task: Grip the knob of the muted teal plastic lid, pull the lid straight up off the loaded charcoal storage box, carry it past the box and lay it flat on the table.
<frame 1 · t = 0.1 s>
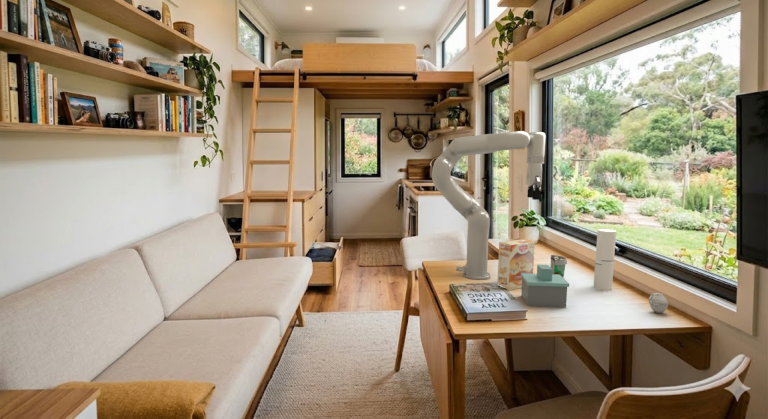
hand: (533, 198, 208), 37 cm above the table, tool pointing down, fingers open, 9 cm apart
grey rock: (657, 312, 168), on the table
lid: (543, 283, 178), point 7 cm above the table, touching storage box
storage box: (542, 301, 179), on the table
food container: (558, 279, 211), on the table
coffeecake box: (514, 286, 199), on the table
cylindrical container: (602, 288, 198), on the table
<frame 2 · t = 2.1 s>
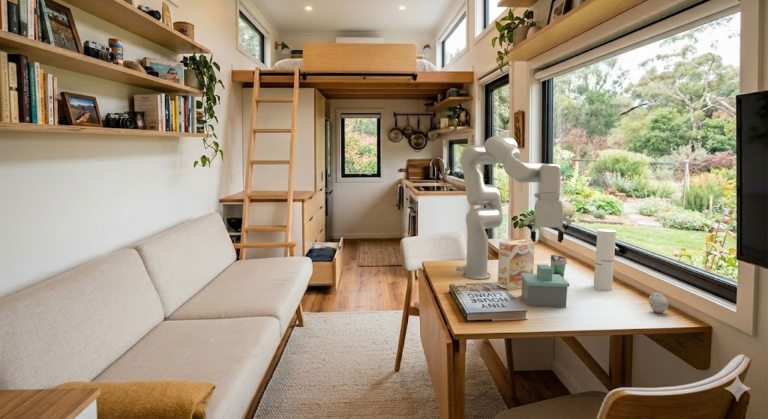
hand: (546, 241, 176), 24 cm above the table, tool pointing down, fingers open, 9 cm apart
nothing on the table moved.
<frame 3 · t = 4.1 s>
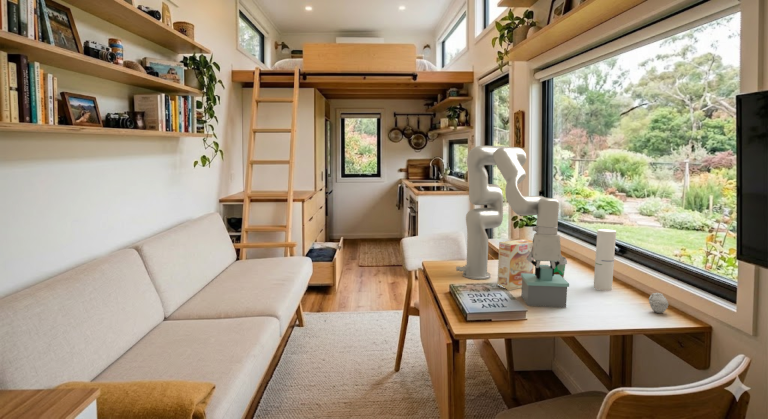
hand: (544, 277, 178), 10 cm above the table, tool pointing down, fingers closed on lid, 4 cm apart
lid: (543, 283, 178), point 7 cm above the table, touching gripper, storage box
everything else where it was.
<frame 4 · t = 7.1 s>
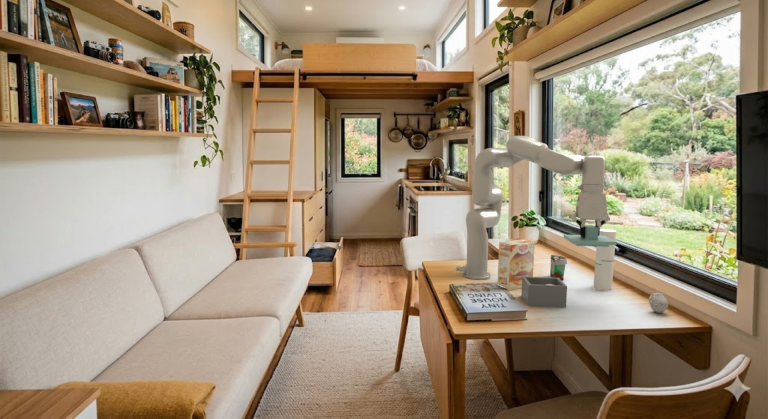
hand: (589, 237, 174), 26 cm above the table, tool pointing down, fingers closed on lid, 4 cm apart
lid: (588, 243, 174), point 23 cm above the table, touching gripper
everything else where it was.
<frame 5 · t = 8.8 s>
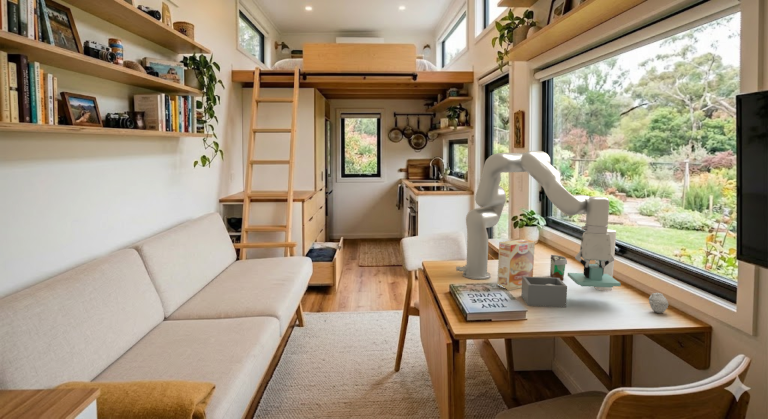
hand: (593, 276, 176), 11 cm above the table, tool pointing down, fingers closed on lid, 4 cm apart
lid: (592, 283, 176), point 8 cm above the table, touching gripper
everything else where it was.
when the fingers open (4 cm above the table, at t = 10.1 s): lid drops 1 cm, on the table.
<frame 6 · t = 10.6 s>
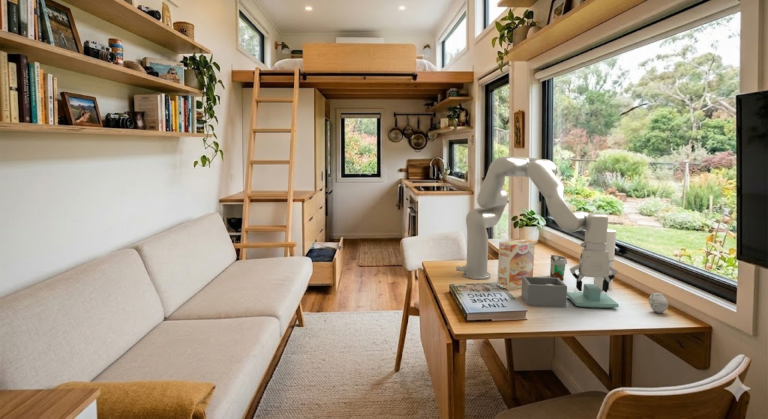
hand: (592, 290, 177), 5 cm above the table, tool pointing down, fingers open, 9 cm apart
lid: (590, 303, 177), on the table
everything else where it was.
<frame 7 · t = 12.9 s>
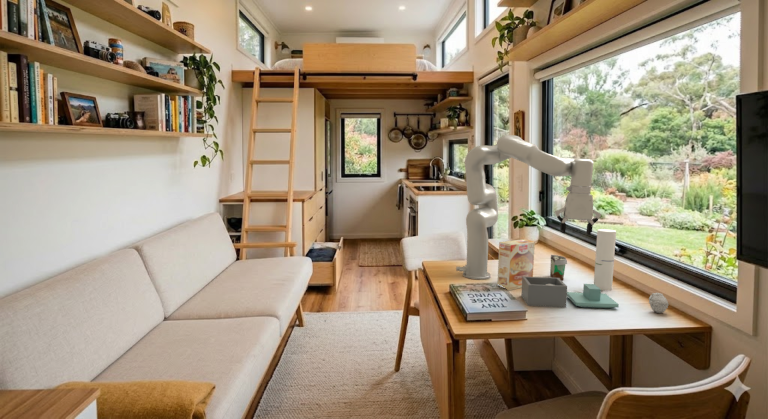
hand: (575, 233, 184), 25 cm above the table, tool pointing down, fingers open, 9 cm apart
nothing on the table moved.
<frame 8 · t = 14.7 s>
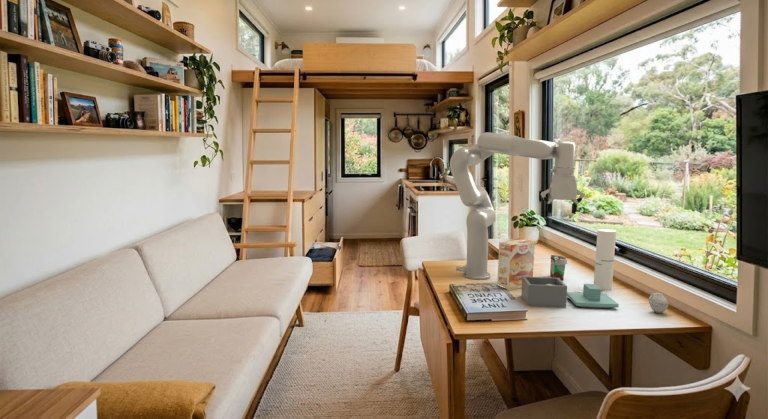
hand: (561, 213, 192), 32 cm above the table, tool pointing down, fingers open, 9 cm apart
nothing on the table moved.
at the end: lid inside the target area (0.1 cm from its centre), on the table; lid tilted 0°; lid touching table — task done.
